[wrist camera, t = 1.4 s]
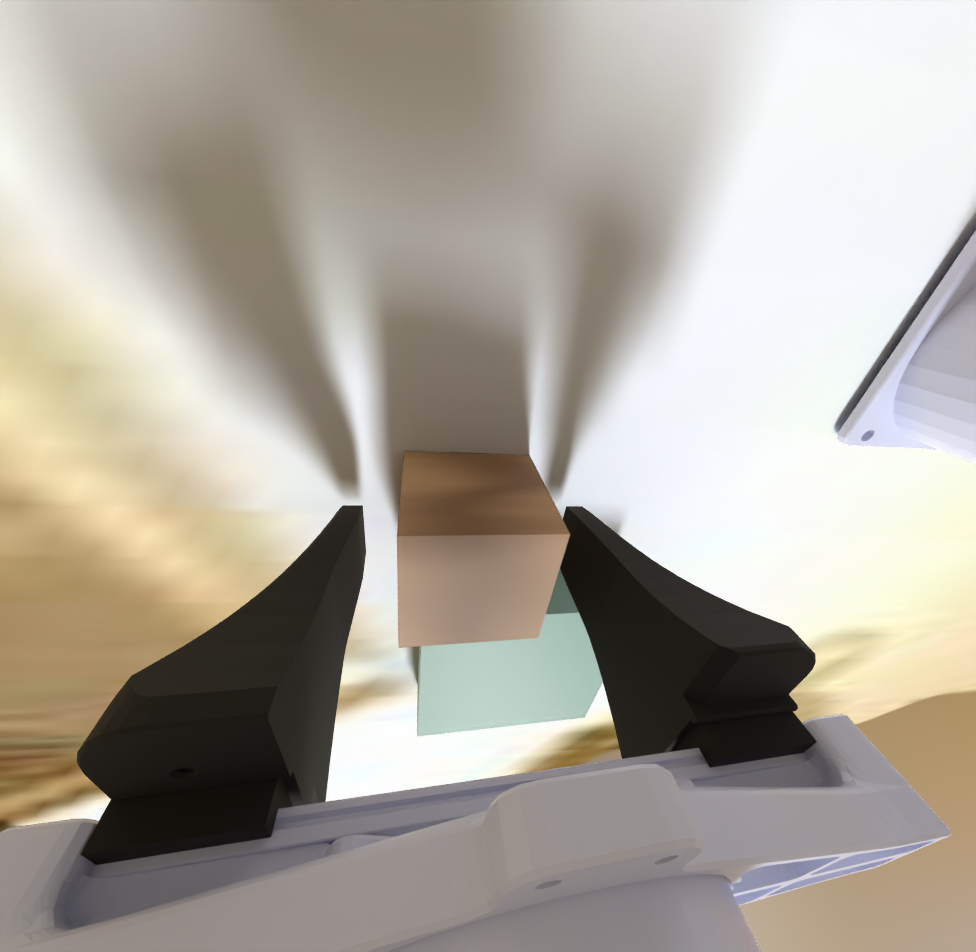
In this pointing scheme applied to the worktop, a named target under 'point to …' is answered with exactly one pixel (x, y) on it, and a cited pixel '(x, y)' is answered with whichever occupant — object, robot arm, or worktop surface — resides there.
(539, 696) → the base block
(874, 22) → the worktop surface
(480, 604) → the walnut cube
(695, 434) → the worktop surface
